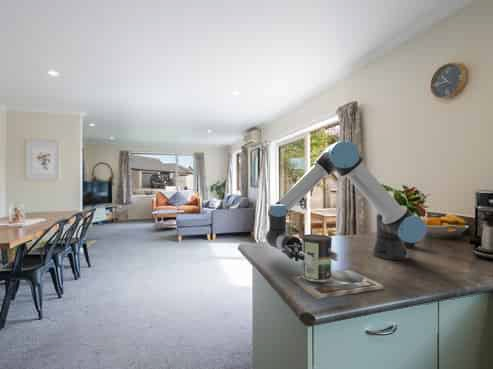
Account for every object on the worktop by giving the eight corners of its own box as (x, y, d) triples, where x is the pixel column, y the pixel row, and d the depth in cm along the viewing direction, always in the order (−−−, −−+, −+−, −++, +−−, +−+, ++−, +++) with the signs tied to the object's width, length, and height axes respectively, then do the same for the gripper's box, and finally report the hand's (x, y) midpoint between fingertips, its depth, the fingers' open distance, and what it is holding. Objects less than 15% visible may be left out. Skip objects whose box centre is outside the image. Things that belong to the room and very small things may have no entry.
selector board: (350, 272, 104) (350, 269, 104) (382, 288, 88) (382, 284, 88) (291, 280, 95) (291, 276, 95) (316, 299, 80) (317, 294, 80)
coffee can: (329, 272, 96) (330, 234, 96) (333, 283, 86) (333, 240, 86) (301, 270, 98) (301, 233, 98) (301, 280, 88) (301, 239, 88)
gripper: (311, 250, 113) (350, 265, 92) (264, 255, 104) (295, 274, 84) (311, 233, 113) (350, 244, 92) (264, 237, 104) (296, 250, 84)
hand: (324, 258), depth 88 cm, fingers closed on coffee can, 10 cm apart
